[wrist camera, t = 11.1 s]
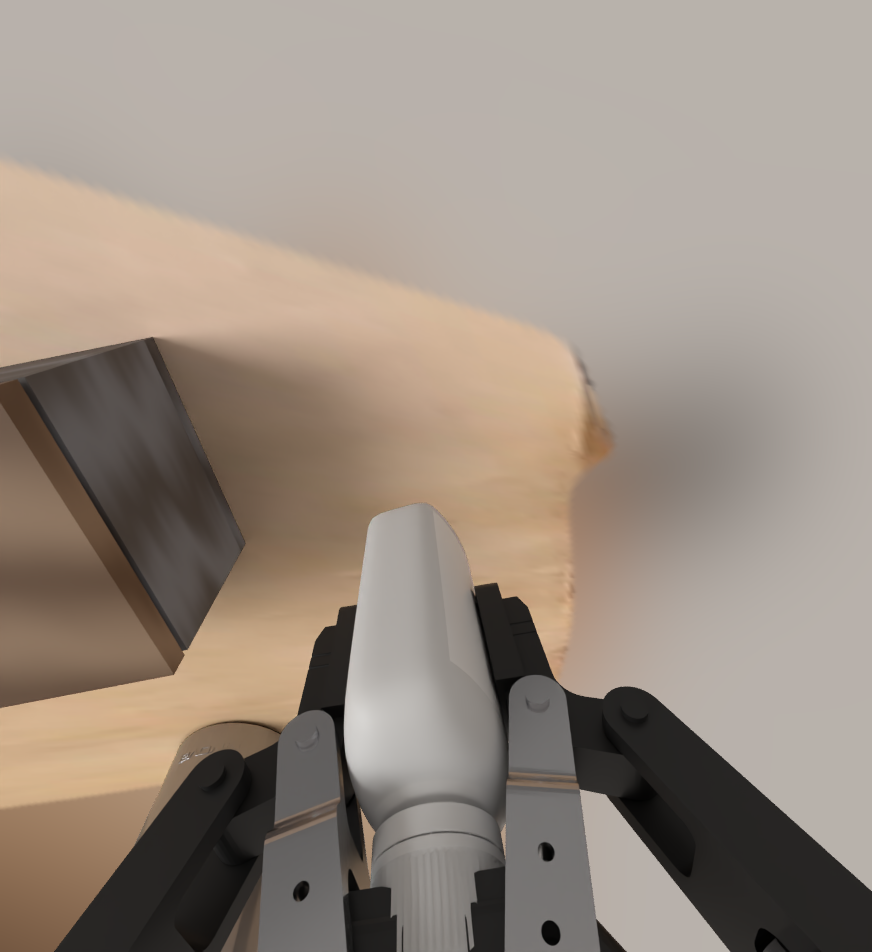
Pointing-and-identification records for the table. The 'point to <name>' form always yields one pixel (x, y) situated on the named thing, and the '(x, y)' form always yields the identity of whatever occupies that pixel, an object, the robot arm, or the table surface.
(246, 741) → the robot arm
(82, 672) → the lid
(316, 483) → the table surface
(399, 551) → the eye dropper bottle
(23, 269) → the table surface
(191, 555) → the box
